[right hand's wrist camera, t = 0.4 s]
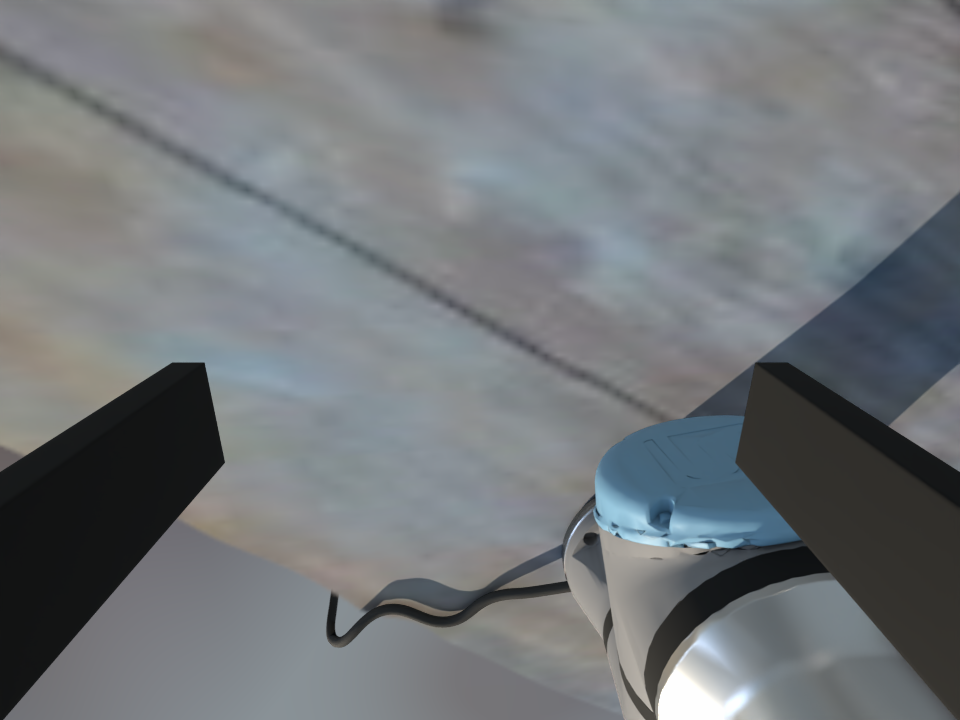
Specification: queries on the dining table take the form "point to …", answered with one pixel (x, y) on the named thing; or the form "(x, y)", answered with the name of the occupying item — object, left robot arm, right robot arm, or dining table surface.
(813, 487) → the right robot arm
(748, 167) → the dining table surface
